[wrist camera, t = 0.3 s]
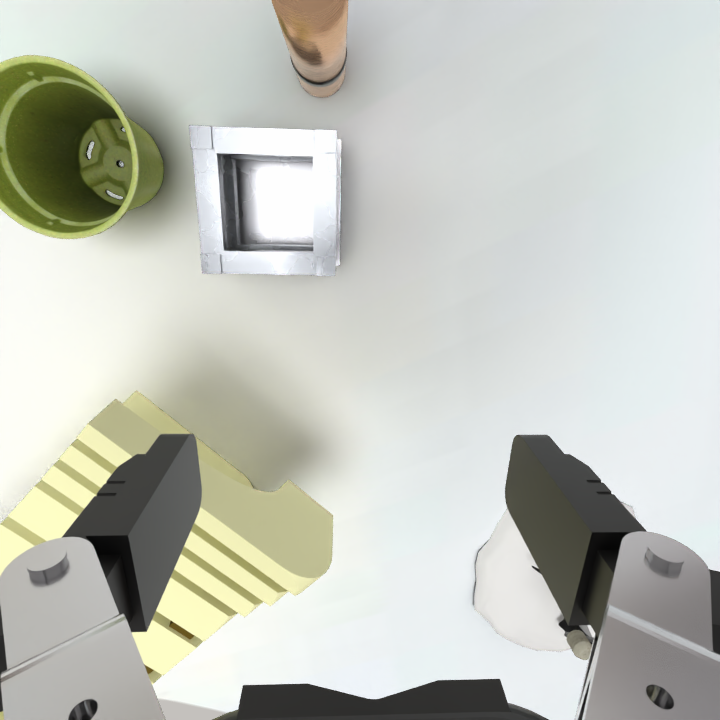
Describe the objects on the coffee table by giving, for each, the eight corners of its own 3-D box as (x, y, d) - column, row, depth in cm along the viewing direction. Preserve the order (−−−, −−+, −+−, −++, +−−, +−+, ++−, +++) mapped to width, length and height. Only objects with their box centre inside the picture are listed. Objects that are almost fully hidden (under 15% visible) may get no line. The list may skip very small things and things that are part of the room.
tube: (295, 40, 32) (255, -104, 17) (346, 42, 32) (352, -99, 17) (296, 97, 33) (260, 11, 18) (345, 99, 33) (350, 15, 18)
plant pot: (45, 201, 34) (-47, 201, 26) (68, 67, 32) (-26, 22, 23) (168, 248, 36) (117, 263, 28) (201, 124, 33) (155, 101, 25)
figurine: (635, 637, 51) (762, 812, 35) (473, 650, 51) (528, 831, 35) (649, 476, 46) (803, 594, 31) (470, 490, 46) (532, 616, 31)
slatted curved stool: (134, 620, 48) (26, 844, 32) (-2, 535, 44) (-211, 741, 27) (334, 442, 42) (331, 603, 26) (198, 324, 38) (87, 423, 21)
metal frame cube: (218, 136, 33) (183, 118, 26) (341, 141, 34) (341, 124, 26) (227, 261, 36) (197, 278, 29) (340, 264, 37) (340, 280, 29)
